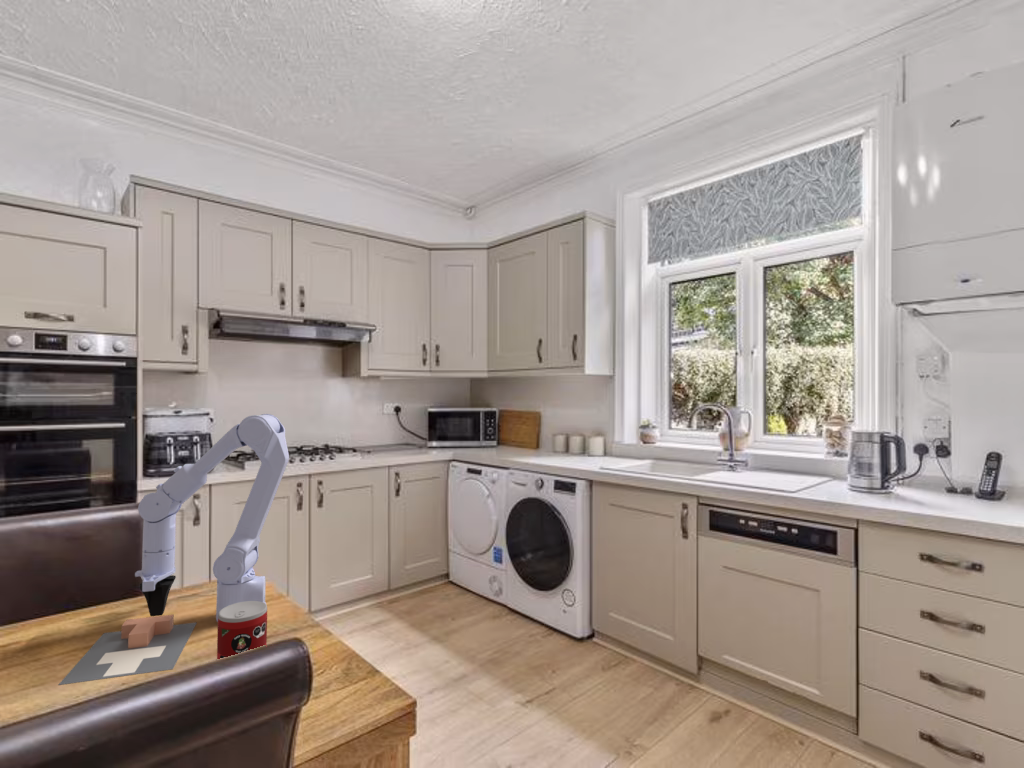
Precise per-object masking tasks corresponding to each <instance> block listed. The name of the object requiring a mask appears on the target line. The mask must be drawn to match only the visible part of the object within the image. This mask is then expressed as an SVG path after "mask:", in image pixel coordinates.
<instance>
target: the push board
mask: <svg viewBox="0 0 1024 768" xmlns="http://www.w3.org/2000/svg"><path fill="white" fill-rule="evenodd" d="M196 625H197V622H196V621H195V622H189V623H180V624H173V628H172V630H171V632H170V633H167V634H158V635H154V637H153V638H152V640H151V641H150V643H149V644H148V646H145V647H137V648H129V649H128V638H125V639H121V630H120V631H111V632H110V631H109V632H103V633H102V635H101V636H100V637H99V638H98V639H97V640H96V641H95V642H94V644H93V645H91V647H90V648H89V649H88V651H87V652H86V653H85V654H84V655H83V656H82V657H81V658H80V660H79V661H78V662H77V663H76V664H75V665H74V666H73V667H72V668H71V670H70V671H69V672H68V673H67V674H66V675H65V677H64V678H63V679H62V680H61V681H60V682H59V683H58V686H61V685H63V686H64V685H69V684H71V685H72V684H76V683H83V682H90V681H99V680H105V679H106V680H107V679H113V678H114V679H115V678H118V677H119V678H121V677H126V676H134V675H142V674H148V673H155V672H162V671H163V672H164V671H169V670H174V668H175V667H176V663H177V662H178V660H179V658H180V656H181V655H182V653H183V651H184V650H185V649H184V648H185V646H186V644H187V643H188V642H189V641H188V640H189V639H190V637H191V635H192V633H193V631H194V630H195V627H196Z"/></svg>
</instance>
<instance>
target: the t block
mask: <svg viewBox="0 0 1024 768" xmlns="http://www.w3.org/2000/svg"><path fill="white" fill-rule="evenodd" d="M174 618H175V617H174V614H166V615H164V614H163V615H160V616H149V617H148V616H147V617H138V618H129V619H126V620H125V621H124V622H123V623H122V625H121V630H120V631H121V639H125V638H128V649H129V648H137V647H145V646H148V644H149V643H150V641H151V640H152V638H153V637H154V635H158V634H167V633H170V632H171V630H172V628H173V625H174V621H175V620H174Z"/></svg>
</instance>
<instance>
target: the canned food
mask: <svg viewBox="0 0 1024 768" xmlns="http://www.w3.org/2000/svg"><path fill="white" fill-rule="evenodd" d="M267 634H268V605H267V603H266V604H265V603H263V602H259V601H245V602H239V603H235V604H232V605H229V606H227V607H225V608H223V609H222V610H220V612H219V616H218V622H217V636H216V637H217V640H216V642H217V643H216V644H217V645H216V646H217V648H216V660H217V659H220V658H224V657H228V656H231V655H235V654H238V653H241V652H244V651H247V650H250V649H254V648H257V647H260V646H263V645H266V646H267V639H268V637H267V636H268V635H267Z"/></svg>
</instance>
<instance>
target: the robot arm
mask: <svg viewBox="0 0 1024 768" xmlns="http://www.w3.org/2000/svg"><path fill="white" fill-rule="evenodd" d="M287 444H288V443H287V439H286V428H285V426H284V424H282V423H281V421H280V419H279V418H278V417H277V416H275V415H273V414H271V413H263V414H259V415H257V414H253V415H249V416H246V417H245V418H243V419H242V420H241V421H240V423H238V424H235V425H234V426H233V427H231V428H230V429H229V430H228V431H227V432H226V433H225V434H223V436H222V437H220V439H218V441H217V442H216V443H214V444H213V445H212V447H210V448H209V449H208V450H207V451H206V452H205V453H204V454H203V455H202V456H201V457H200V458H199V459H198V460H197V461H196V462H194V463H185V464H184V465H179V466H177V467H176V468H174V469H173V472H174V473H173V474H172V475H171V476H170V477H169V478H168V479H167V480H166V481H164V482H163V483H158V485H156V486H155V488H156V492H150V493H147V494H145V495H144V496H143V498H141V500H140V501H139V503H138V505H137V507H138V508H137V510H138V514H139V516H140V517H141V519H142V520H143V523H142V524H143V525H142V549H141V550H142V554H141V555H142V556H141V557H142V559H141V562H142V563H141V570H140V569H139V570H137V571H135V572H134V577H135V578H137V577H140V578H141V580H142V582H141V583H140V584H139V590H140V591H141V593H142V594H143V596H144V597H145V601H146V603H147V607H148V608H147V609H148V612H149V615H150V616H149V617H155V616H163V615H164V612H165V610H166V606H167V601H168V597H169V594H170V592H171V591H170V590H171V588H172V586H173V584H174V582H175V581H176V578H177V577H176V575H174V574H175V573H176V569H177V568H176V565H175V564H176V562H175V561H176V533H177V532H176V530H177V529H176V526H177V524H176V521H177V513H178V512H179V511H180V510H181V508H182V505H183V504H184V503H185V502H187V501H188V499H190V498H191V497H192V496H193V495H194V494H195V493H197V492H198V491H199V490H200V489H202V488H203V486H204V485H206V483H207V481H208V473H210V472H211V471H212V470H213V469H215V468H216V467H218V465H219V464H221V463H222V462H223V461H224V460H225V459H226V458H227V457H228V458H229V456H230V455H231V454H232V453H234V452H235V451H237V449H239V448H243V447H246V446H248V447H249V448H250V449H251V450H253V451H254V453H255V455H256V456H257V457H258V459H259V460H260V463H261V464H260V466H259V469H258V471H257V473H256V477H255V479H254V482H253V484H252V485H251V489H250V492H249V494H248V497H247V500H246V502H245V504H244V507H243V510H242V512H241V514H240V518H239V519H238V523H237V524H236V527H235V529H234V530H235V531H234V533H233V534H232V536H231V538H230V539H229V540H228V542H227V544H226V545H225V548H224V550H223V552H222V553H221V554H220V555H219V556H218V557H217V558H216V559H215V560H214V563H213V566H212V572H213V575H214V577H215V578H216V606H215V607H216V610H215V611H216V612H215V619H216V623H218V616H219V612H220V610H222V609H223V608H225V607H227V606H229V605H232V604H235V603H239V602H245V601H259V602H263V603H265V604H266V605H267V602H266V576H265V575H262V576H259V575H256V572H255V570H254V566H255V565H256V564H257V562H258V560H259V555H260V554H259V545H260V542H261V533H262V531H263V529H264V528H263V527H264V525H265V523H266V520H267V518H268V515H269V512H270V510H271V507H272V504H273V502H274V499H275V498H276V497H275V496H276V495H277V491H278V489H279V486H280V484H281V481H282V479H283V476H284V474H285V471H286V469H287V465H288V463H289V460H290V455H289V454H290V453H289V450H288V445H287Z"/></svg>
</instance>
